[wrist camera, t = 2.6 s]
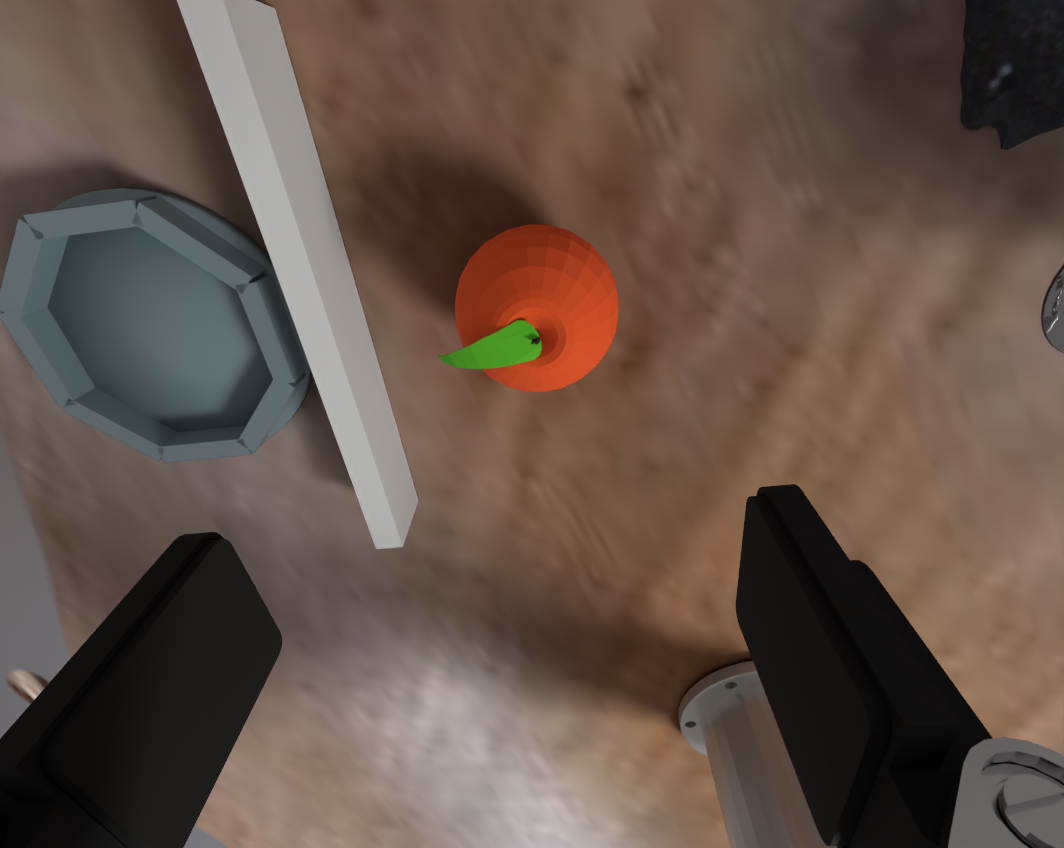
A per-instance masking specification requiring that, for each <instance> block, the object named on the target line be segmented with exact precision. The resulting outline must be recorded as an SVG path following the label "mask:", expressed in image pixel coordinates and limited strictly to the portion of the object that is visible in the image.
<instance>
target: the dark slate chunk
mask: <svg viewBox="0 0 1064 848" xmlns="http://www.w3.org/2000/svg"><path fill="white" fill-rule="evenodd" d="M964 43H965V48H964V55H963V63H962V70H961V89H962V105H961V122H962V123H963V125H964V126H965V127H967V128H969V129H971V130H978V129H980V128H982V127H985V126H987V125H993V128H997V131H998V134H999V137H1000V141H1001V149H1007V150H1008V149H1010V148H1012V147H1014V146H1016V145H1018V144H1020V143H1022V142H1024V141H1026V140H1028V139H1030V138H1032V137H1034V136H1036V135H1039V134H1042V133H1045V132H1048V131H1051V130H1054V129H1057V128H1060V127H1063V126H1064V0H966V17H965V25H964Z"/></svg>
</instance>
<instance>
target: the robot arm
mask: <svg viewBox="0 0 1064 848" xmlns="http://www.w3.org/2000/svg"><path fill="white" fill-rule="evenodd" d="M736 613H737V618H738V622H739V625H740V628H741V631H742V634H743V636H744V639H745V641H746V644H747V647H748V649H749V652H750V655H751V657H752V660H753V661H747V662H741V663H738V664H734V665H731V666H727V667H725V668H722V669H720V670H718V671H715V672H713V673H711V674H710V675H708V676H706V677H705V678H703V679H701V680H700V681H699V682H697V683H696V684H695V685H694V686H693V687H692V688H691V689H690V690H689V691H688V692H687V693H686V695H685V696H684V697H683V699H682V701H681V704H680V706H679V712H678V718H679V723H680V729H681V732H682V734H683V737H684V739H685V740H686V741H687V742H688V744H689V745H690V746H691V747H693V748H694V749H695V750H697V751H698V752H700V753H702V754H704V755H706V756H708V759H709V763H710V767H711V771H712V775H713V779H714V783H715V787H716V791H717V795H718V799H719V803H720V807H721V810H722V814H723V818H724V822H725V826H726V830H727V834H728V838H729V842H730V846H731V848H1064V756H1063V755H1061V754H1059V753H1057V752H1056V751H1053V750H1051V749H1048V748H1045V747H1043V746H1040V745H1037V744H1035V743H1032V742H1029V741H1025V740H1019V739H1012V738H1006V737H1002V738H994V739H993V738H992V737H991V735H990V734H989V732H988V731H987V730H986V728H985V727H984V726H983V724H982V723H981V721H980V720H979V719H978V717H977V716H976V714H975V713H974V712H973V710H972V709H971V707H970V706H969V705H968V703H967V702H966V700H965V699H964V698H963V696H962V695H961V694H960V692H959V691H958V689H957V688H956V687H955V685H954V684H953V682H952V681H951V680H950V678H949V677H948V675H947V674H946V673H945V671H944V670H943V669H942V667H941V666H940V664H939V663H938V662H937V660H936V659H935V657H934V656H933V655H932V653H931V652H930V650H929V649H928V648H927V646H926V645H925V643H924V642H923V641H922V639H921V638H920V637H919V635H918V634H917V632H916V631H915V630H914V628H913V627H912V625H911V624H910V623H909V621H908V620H907V618H906V617H905V616H904V614H903V613H902V612H901V610H900V609H899V607H898V606H897V605H896V603H895V602H894V600H893V599H892V598H891V596H890V595H889V593H888V592H887V591H886V589H885V588H884V586H883V585H882V584H881V582H880V581H879V580H878V578H877V577H876V575H875V574H874V573H873V571H872V570H871V569H870V568H869V567H868V566H867V565H866V564H865V563H863V562H861V561H859V560H851V561H850V560H849V558H848V557H847V556H846V554H845V553H844V551H843V550H842V548H841V547H840V545H839V544H838V542H837V541H836V540H835V538H834V537H833V535H832V534H831V532H830V531H829V529H828V528H827V526H826V525H825V523H824V522H823V521H822V519H821V518H820V516H819V515H818V513H817V512H816V510H815V509H814V507H813V506H812V505H811V503H810V502H809V500H808V499H807V497H806V496H805V494H804V493H803V491H802V490H801V489H800V488H799V487H798V486H797V485H795V484H792V485H780V486H768V487H761V488H759V490H758V492H757V496H751V497H748V499H747V503H746V512H745V521H744V531H743V540H742V550H741V559H740V568H739V578H738V587H737V597H736ZM281 647H282V636H281V633H280V631H279V629H278V627H277V625H276V623H275V622H274V620H273V618H272V616H271V614H270V613H269V611H268V609H267V607H266V605H265V604H264V602H263V600H262V598H261V596H260V595H259V593H258V591H257V589H256V587H255V585H254V584H253V582H252V580H251V578H250V576H249V575H248V573H247V571H246V569H245V567H244V566H243V564H242V562H241V560H240V558H239V557H238V555H237V553H236V551H235V549H234V547H233V546H232V544H231V543H230V542H229V541H228V540H226V539H224V538H223V537H222V536H221V535H220V534H218V533H216V532H208V533H196V534H184V535H182V536H179V537H178V538H177V539H176V540H174V541H173V543H172V544H171V545H170V546H169V547H168V548H167V549H166V551H165V552H164V553H163V554H162V555H161V556H160V557H159V559H158V560H157V561H156V562H155V563H154V564H153V565H152V567H151V568H150V569H149V570H148V571H147V572H146V573H145V575H144V576H143V577H142V578H141V579H140V580H139V581H138V582H137V584H136V585H135V586H134V587H133V588H132V589H131V590H130V592H129V593H128V594H127V595H126V596H125V597H124V598H123V600H122V601H121V602H120V603H119V604H118V605H117V606H116V608H115V609H114V610H113V611H112V612H111V613H110V614H109V616H108V617H107V618H106V619H105V620H104V621H103V622H102V624H101V625H100V626H99V627H98V628H97V629H96V630H95V632H94V633H93V634H92V635H91V636H90V637H89V638H88V640H87V641H86V642H85V643H84V644H83V645H82V646H81V647H80V649H79V650H78V651H77V652H76V653H75V654H74V655H73V657H72V658H71V659H70V660H69V661H68V662H67V663H66V665H65V666H64V667H63V668H62V669H61V670H60V671H59V673H58V674H57V675H56V676H55V677H54V678H53V679H52V681H51V682H50V683H49V684H48V685H47V686H46V687H45V689H44V690H43V691H42V692H41V693H40V694H39V695H38V697H37V698H36V699H35V700H34V701H33V702H32V703H31V704H30V706H29V707H28V708H27V709H26V710H25V712H24V713H23V714H22V715H21V716H20V717H19V718H18V719H17V720H16V722H15V723H14V724H13V725H12V726H11V727H10V728H9V730H8V731H7V732H6V733H5V734H4V735H3V736H2V738H1V739H0V848H183V847H184V845H185V843H186V841H187V839H188V837H189V835H190V833H191V831H192V829H193V827H194V825H195V823H196V821H197V819H198V817H199V815H200V813H201V811H202V809H203V807H204V805H205V803H206V801H207V799H208V797H209V795H210V793H211V791H212V789H213V787H214V785H215V783H216V781H217V779H218V777H219V775H220V773H221V771H222V769H223V767H224V765H225V763H226V761H227V758H228V756H229V754H230V752H231V750H232V748H233V746H234V744H235V742H236V740H237V738H238V736H239V734H240V732H241V730H242V728H243V726H244V724H245V722H246V720H247V718H248V716H249V714H250V712H251V710H252V708H253V706H254V704H255V702H256V700H257V698H258V696H259V694H260V692H261V690H262V688H263V686H264V684H265V682H266V680H267V678H268V676H269V674H270V672H271V670H272V668H273V666H274V664H275V662H276V660H277V658H278V656H279V653H280V651H281Z"/></svg>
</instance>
